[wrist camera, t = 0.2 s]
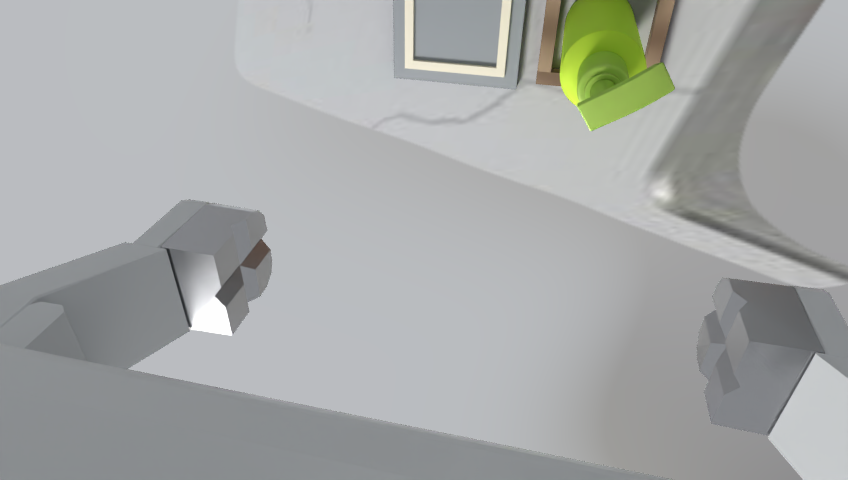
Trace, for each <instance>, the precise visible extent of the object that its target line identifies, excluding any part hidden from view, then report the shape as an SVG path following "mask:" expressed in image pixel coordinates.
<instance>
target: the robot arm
mask: <svg viewBox="0 0 848 480" xmlns="http://www.w3.org/2000/svg"><path fill="white" fill-rule="evenodd" d="M266 231H267V227H266V222H265V217H264V215H263V214H262V213H261V212H260V211H258V210H252V209H246V208H240V207H234V206H228V205H222V204H215V203H209V202H203V201H196V200H182V201H180V202H179V203H178V204H177V205H176V206H175V207H174V208H172V209H171V210H170V211H169V212H168V213H167V214H166V215H164V216H163V217H162V218H161V219H160V220H159V221H158V222H156V223H155V224H154V225H153V226H152V227H151V228H150V229H149V230H147V231H146V232H145V233H144V234H143V235H142V236H141V237H139V238H138V239H137V240H136V241H135V242H134V243H126V242H125V243H122V244H119V245H116V246H113V247H110V248H108V249H104V250H102V251H99V252H96V253H93V254H90V255H87V256H84V257H81V258H79V259H76V260H73V261H70V262H67V263H64V264H61V265H58V266H55V267H52V268H49V269H47V270H43V271H41V272H38V273H35V274H32V275H29V276H26V277H23V278H20V279H18V280H15V281H12V282H9V283H6V284H3V285H0V480H673V479H668V478H663V477H658V476H654V475H649V474H644V473H639V472H634V471H629V470H624V469H619V468H614V467H609V466H604V465H599V464H594V463H589V462H585V461H580V460H575V459H570V458H565V457H560V456H555V455H551V454H545V453H541V452H536V451H531V450H526V449H521V448H516V447H511V446H506V445H501V444H496V443H492V442H487V441H481V440H477V439H472V438H466V437H462V436H456V435H452V434H446V433H442V432H436V431H432V430H427V429H422V428H417V427H412V426H407V425H402V424H397V423H392V422H387V421H382V420H377V419H372V418H366V417H362V416H357V415H352V414H347V413H342V412H337V411H332V410H327V409H322V408H317V407H312V406H307V405H302V404H297V403H292V402H287V401H282V400H277V399H272V398H267V397H263V396H257V395H253V394H248V393H242V392H238V391H233V390H228V389H223V388H218V387H213V386H208V385H203V384H198V383H193V382H188V381H183V380H178V379H173V378H168V377H163V376H158V375H154V374H149V373H144V372H138V371H134V370H129V369H128V368H130V367H131V366H133V365H135V364H136V363H138V362H140V361H141V360H143V359H145V358H146V357H148V356H149V355H151V354H153V353H154V352H156V351H158V350H159V349H161V348H163V347H164V346H166V345H167V344H169V343H171V342H172V341H174V340H176V339H177V338H179V337H181V336H182V335H184V334H185V333H187V332H189V331H190V330H189V329H195V330H201V331H208V332H214V333H221V334H227V335H233V334H234V332H235V331H236V329H237V328H238V327H239V325H240V324H241V322H242V321H243V320H244V318H245V317H246V315H247V314H248V313H249V308H248V302H249V301H251V300H253V299H256V298H258V297H260V296H261V294H262V293H263V291H264V290H265V288H266V287H267V284H268V281H269V278H270V275H271V269H272V257H271V250H270V249H269V247H268V246H267V245H266V244H265V243H264V242H263V240H262V237H263V236H264V234H265V233H266ZM712 297H713V301H714V305H715V309H716V310H715V311H713V312H711V313H710V314H708V315H707V316H705V317H704V320H703V322H702V325H701V328H700V331H699V336H698V343H697V361H698V366H699V371H700V372H701V373H702V374H703V375H704V376H705V377H706V378H707V379H708V383H707V385H706V388H705V390H704V394H705V399H706V403H707V408H708V412H709V416H710V421H711V424H715V425H720V426H725V427H730V428H734V429H739V430H744V431H749V432H754V433H758V434H763V435H768V439H769V440H770V441H771V442H772V443H773V445H774V446H775V447H776V448H777V449H778V450H779V452H780V453H781V454H782V455H783V456H784V458H785V459H786V460H787V461H788V462H789V463H790V465H791V466H792V467H793V468H794V469H795V470H796V472H797V473H798V474H799V475H800V476H801V478H802V479H803V480H848V326H847V324H846V322H845V320H844V318H843V317H842V315H841V313H840V311H839V309H838V308H837V306H836V304H835V302H834V300H833V299H832V297H831V295H830V294H829V293H828V292H827V291H825V290H824V289H816V288H807V287H798V286H784V285H776V284H769V283H760V282H753V281H746V280H738V279H730V278H722V279H721V280H720V281H719V283H718V284H717V286H716V289H715V291H714V294H713V296H712Z"/></svg>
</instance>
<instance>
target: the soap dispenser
mask: <svg viewBox="0 0 848 480" xmlns="http://www.w3.org/2000/svg"><path fill="white" fill-rule="evenodd" d="M560 83H561V87H562V89H563V92H564V93H565V95H566V97H567V98H568V99H569V100H570V101H571V102H572V103H573V104H574V105H576V106H577V107H578V109H579V111H580V113H581V115H582V116H583V118H584V120H585V122H586V124H587V126H588V128H589V129H590V131H592V130H595V129H597V128H599V127H602V126H604V125H606V124H609V123H611V122H613V121H616V120H618V119H620V118H622V117H624V116H627V115H629V114H631V113H633V112H635V111H637V110H639V109H641V108H643V107H645V106H647V105H649V104H651V103H652V102H654V101H656V100H658V99H660V98H661V97H663V96H665V95H667V94H668V93H670V92H672V91H673V90H674V89H675V87H674V85H673V82H672V80H671V78H670V76H669V74H668V71H667V69H666V67H665V65H664V63H656V64H654V65H652V66H650V67H649V68H647V66H646V58H645V55H644V51H643V47H642V44H641V40H640V36H639V32H638V29H637V25H636V21H635V18H634V14H633V10H632V8H631V6H630V4H629V2H628V1H627V0H577V1H576V2H575V3H574V4H573V5H572V7H571V8H570V10H569V12H568V14H567V17H566V21H565V28H564V37H563V46H562V55H561V65H560Z"/></svg>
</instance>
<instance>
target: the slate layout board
mask: <svg viewBox="0 0 848 480" xmlns="http://www.w3.org/2000/svg"><path fill="white" fill-rule="evenodd" d="M525 8H526V0H393V28H394V78H400V79H411V80H421V81H432V82H442V83H453V84H463V85H473V86H484V87H494V88H505V89H515V90H516V87H517V80H518V71H519V62H520V53H521V44H522V35H523V26H524V17H525Z"/></svg>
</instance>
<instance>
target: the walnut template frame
mask: <svg viewBox="0 0 848 480" xmlns="http://www.w3.org/2000/svg"><path fill="white" fill-rule="evenodd" d="M674 3H675V0H658V1H657V5H656V9H655V14H654V18H653V22H652V27H651V31H650V35H649V39H648V44H647V48H646V52H645V58H646V66H647V68H649V67H650V66H652V65H654V64H656V63H660V59H661V55H662V51H663V47H664V43H665V39H666V35H667V31H668V27H669V23H670V19H671V15H672V11H673V7H674ZM560 4H561V0H547V2H546V10H545V17H544V25H543V33H542V40H541V48H540V56H539V64H538V71H537V79H536V84H542V85H553V86H561V83H560V69H554V68H551V67H552V60H553V53H554V46H555V39H556V32H557V25H558V18H559V11H560Z"/></svg>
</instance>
